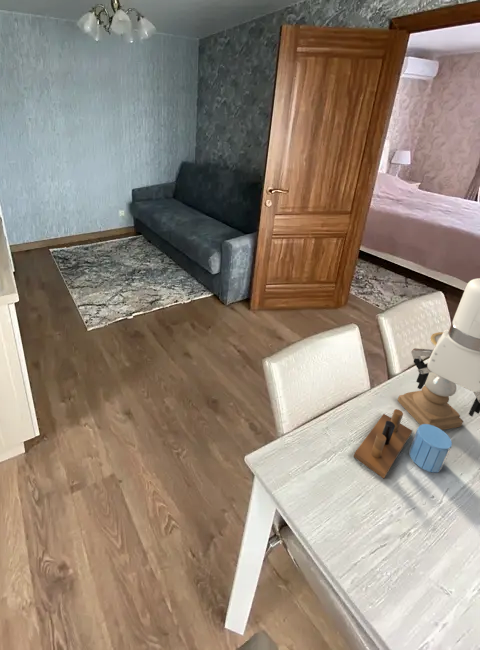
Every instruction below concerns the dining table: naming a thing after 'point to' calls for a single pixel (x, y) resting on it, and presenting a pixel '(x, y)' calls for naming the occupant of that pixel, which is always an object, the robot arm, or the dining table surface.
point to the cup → (430, 448)
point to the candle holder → (433, 400)
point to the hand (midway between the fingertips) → (445, 398)
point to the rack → (383, 443)
